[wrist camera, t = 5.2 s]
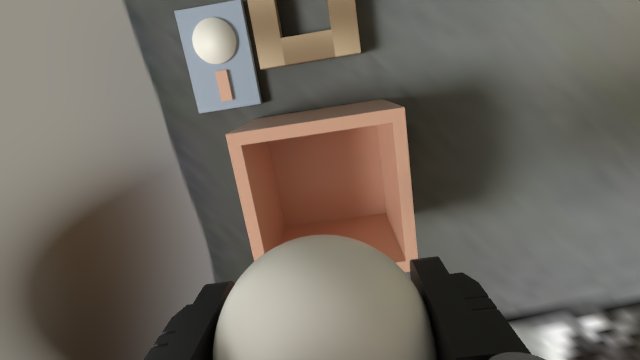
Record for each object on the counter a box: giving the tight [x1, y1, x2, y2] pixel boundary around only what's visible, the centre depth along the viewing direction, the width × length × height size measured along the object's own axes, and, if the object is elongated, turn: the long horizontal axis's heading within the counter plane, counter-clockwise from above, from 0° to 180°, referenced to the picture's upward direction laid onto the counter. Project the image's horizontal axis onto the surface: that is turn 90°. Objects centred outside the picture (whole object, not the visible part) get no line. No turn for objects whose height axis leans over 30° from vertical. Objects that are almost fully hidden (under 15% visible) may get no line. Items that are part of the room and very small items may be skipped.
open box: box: [225, 99, 418, 272], centre depth 20 cm, size 8×8×7 cm
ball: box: [213, 234, 437, 360], centre depth 8 cm, size 5×5×5 cm
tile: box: [174, 0, 262, 113], centre depth 22 cm, size 6×4×1 cm, turn 9°
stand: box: [247, 0, 361, 70], centre depth 20 cm, size 6×6×1 cm
